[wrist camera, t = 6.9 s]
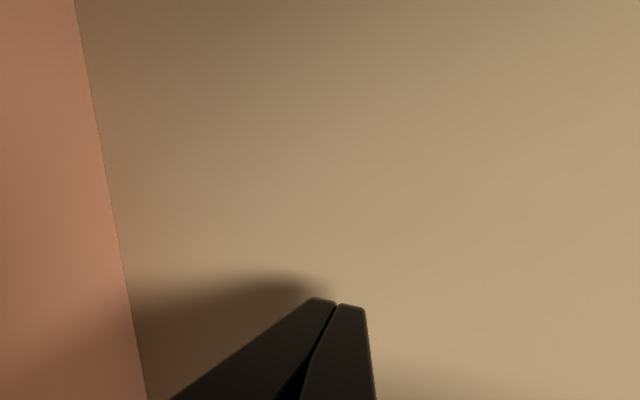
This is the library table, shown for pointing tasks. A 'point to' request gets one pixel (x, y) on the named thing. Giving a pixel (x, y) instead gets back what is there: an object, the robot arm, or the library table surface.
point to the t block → (57, 222)
